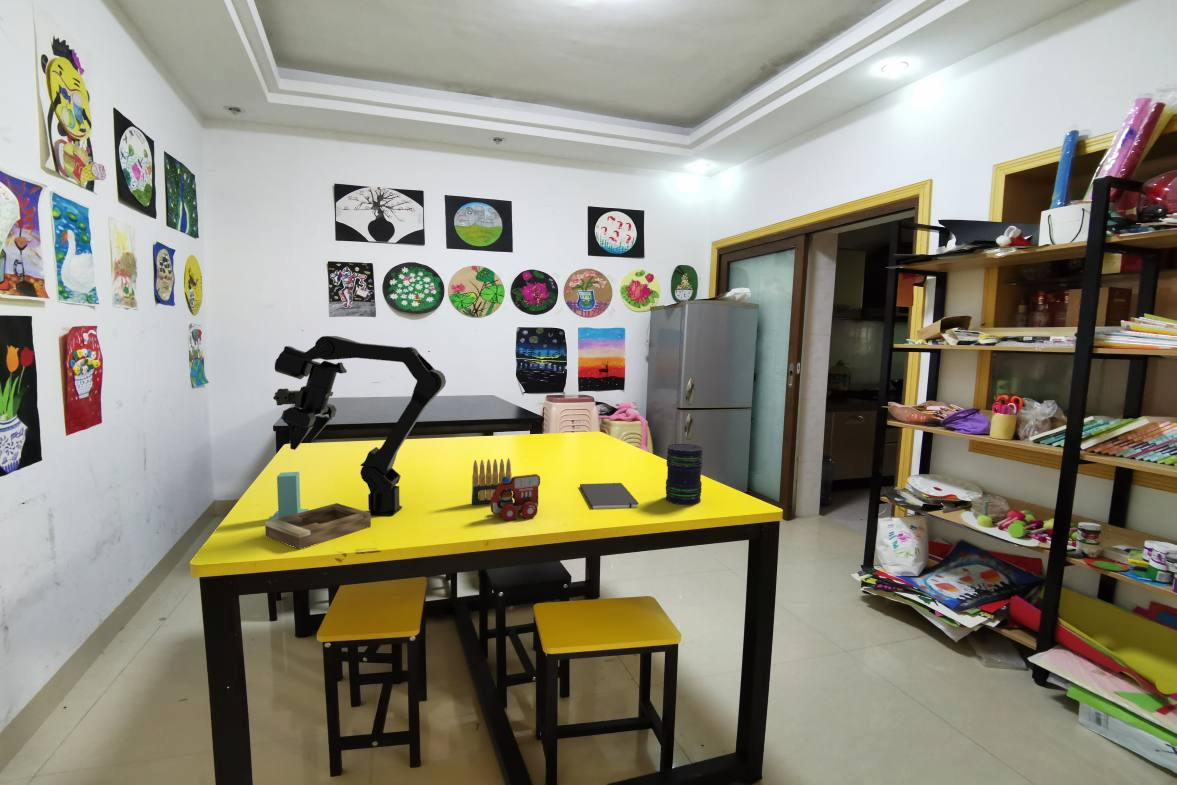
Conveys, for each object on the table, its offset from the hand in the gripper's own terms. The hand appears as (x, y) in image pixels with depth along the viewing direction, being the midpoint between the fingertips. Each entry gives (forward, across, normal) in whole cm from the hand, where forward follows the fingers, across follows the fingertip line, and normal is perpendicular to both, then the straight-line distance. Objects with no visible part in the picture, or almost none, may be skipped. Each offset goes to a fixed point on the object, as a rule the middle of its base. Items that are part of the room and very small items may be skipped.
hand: (300, 445), depth 136 cm
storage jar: (-14, -7, +99) cm, 100 cm away
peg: (+17, +4, +4) cm, 18 cm away
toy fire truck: (0, +5, +55) cm, 55 cm away
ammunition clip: (+2, -6, +49) cm, 49 cm away
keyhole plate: (+14, +14, +14) cm, 24 cm away
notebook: (-7, -11, +80) cm, 81 cm away
